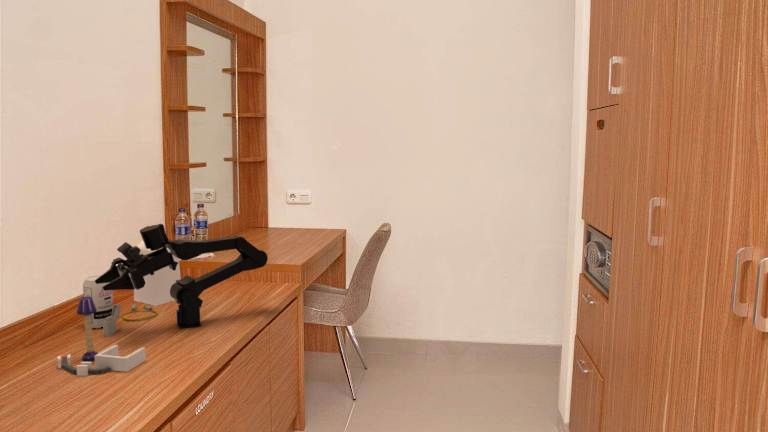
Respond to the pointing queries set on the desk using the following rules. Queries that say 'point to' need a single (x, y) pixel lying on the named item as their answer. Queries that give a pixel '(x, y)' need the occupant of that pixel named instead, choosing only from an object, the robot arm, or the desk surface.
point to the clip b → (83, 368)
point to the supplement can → (98, 300)
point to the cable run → (90, 371)
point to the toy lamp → (87, 325)
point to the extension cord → (134, 307)
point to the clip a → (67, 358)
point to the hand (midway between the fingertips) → (99, 285)
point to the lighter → (111, 321)
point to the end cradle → (119, 359)
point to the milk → (157, 282)
